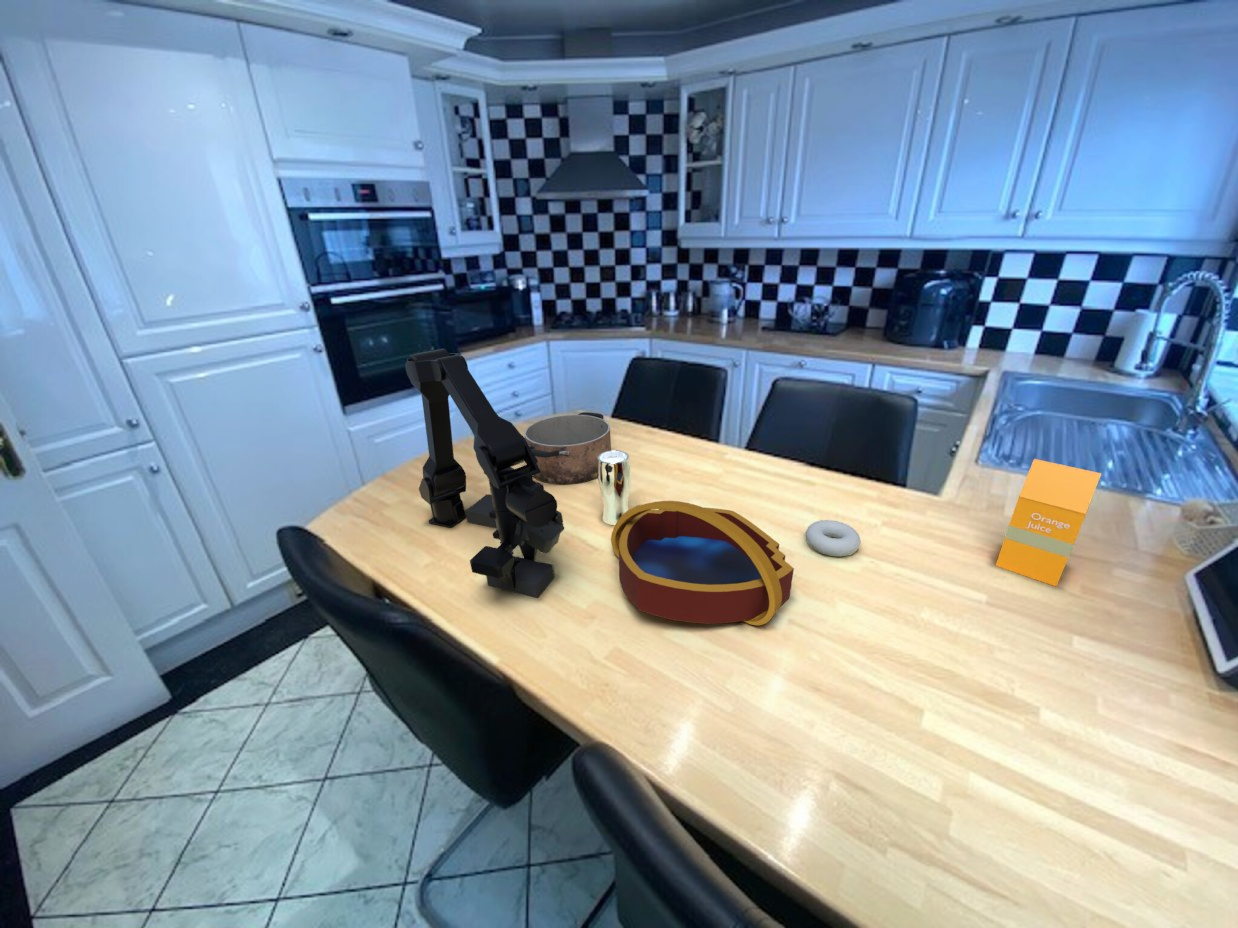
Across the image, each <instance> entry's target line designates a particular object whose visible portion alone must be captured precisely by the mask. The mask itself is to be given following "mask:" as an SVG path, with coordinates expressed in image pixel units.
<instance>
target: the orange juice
mask: <svg viewBox="0 0 1238 928" xmlns="http://www.w3.org/2000/svg"><path fill="white" fill-rule="evenodd" d="M1028 470H1029V471H1028V473H1027V475H1026V477H1025V480H1024V483H1023V486H1022V488H1021V491H1020V493H1019V494H1018V497H1017V500H1016V504H1015V507H1014V510H1013V513H1012V516H1011V519H1010V522H1009V524H1008V526H1007V530H1006V532H1005V535H1004V539H1003V541H1002V545H1001V548H1000V551H999V555H998V557H997V560H996V562H995V567H998V568H1001V569H1004V570H1007V571H1010V572H1012V573H1016V574H1018V575H1021V576H1024V577H1027V578H1030V579H1033V580H1036V581H1039V582H1040V583H1041V582H1042V583H1045V584H1047V585H1050V586H1054V587H1057V586H1058V583H1059V582H1060V579H1061V576H1062V574H1063V572H1064V569H1065V566H1066V565H1067V562H1068V560H1069V558H1070V556H1071V553H1072V550H1073V548H1074V546H1075V543H1076V540H1077V537H1078V535H1079V534H1080V531H1081V528H1082V525H1083V523H1084V521H1085V518H1086V516H1087V513H1088V510H1089V508H1090V504H1091V501H1092V499H1093V496H1094V495H1095V492H1096V489H1097V487H1098V484H1099V482H1100V479H1101V476H1102V473H1101V472H1098V471H1097V472H1096V471H1093V470H1087V469H1083V468H1078V467H1074V466H1069V465H1065V464H1060V463H1056V462H1051V461H1047V460H1042V459H1037V458H1034V459H1033V460H1032V463H1031V465H1030V468H1029V469H1028Z"/></svg>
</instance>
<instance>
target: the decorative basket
mask: <svg viewBox="0 0 1238 928" xmlns="http://www.w3.org/2000/svg"><path fill="white" fill-rule="evenodd" d="M610 543H611V547H612V550H613V552H614V554H615V556H616V557H617V558H618V576H619V583H620V586H621V588H622V590H623V593H624V594H625V596H626V598H628V600H629V602H630V603H631V604H632V605H633V606H634V607H635V608H636V609H637V610H638V611H639V612H640V611H641V612H644V613H647V614H649V615H652V616H656V617H659V618H664V619H668V620H673V621H679V622H686V623H693V624H727V623H736V622H744V623H746V624H749V625H751V626H752V625H753V626H762V625H766V624H768V623H769V622H770V621H771V619H772V618H773V617H774V616H775V615H776V613H777V612H778V611H779V609H780V607H781V606H782V605H784V604H785V603H786V602H787V601H788V600H789V599H790V596H791V590H792V583H793V577H794V571H795V568H794V567H793V566H792V565H791V564H789V563H788V562H787V561H786V554H785V553H784V552H782V551H781V550H780V543H779V542H778V541H776V540H775V539H774V538H773V537H772V536H770V535H769V534H767V533H766V532H765V531H764V530H762V529H761V528H759V527H758V526H757V525H756V524H754V523H753V522H751V521H750V520H748V519H747V518H746V517H744V516H743V515H741V514H739V513H738V512H736V511H734V510H731V509H725V508H724V509H723V508H716V507H715V508H714V507H705V506H701V505H697V504H693V503H690V502H684V501H680V500H679V501H678V500H677V501H676V500H659V501H652V502H648V503H644V504H639V505H636V506H634V507H632V508H629V510H628V511H627V512H625V513H624V514H623V515H622V516H621V517H620V519H619V520H618V521H617V523H616V525H614V527H613V529H612V531H611V537H610Z"/></svg>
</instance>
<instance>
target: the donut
mask: <svg viewBox="0 0 1238 928" xmlns="http://www.w3.org/2000/svg"><path fill="white" fill-rule="evenodd" d="M805 540H806V542H807V544H808V546H810V547H811V548H812V549H814V550H815V551H816V552H818V553H820V554H822V555H826V556H829V557H847V556H850V555H853V554H854V553H856V552H857V551H858V550H859V548H860V545H861V537H860V534H859V533H858V532H857V530H856V529H855V528H853V527H852V526H851V525H849V524H847V523H844V522H842V521H838V520H832V519H823V520H818V521H815V522H813V523H811V524H809V525H808V527H807V528H806V530H805Z"/></svg>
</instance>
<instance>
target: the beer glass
mask: <svg viewBox="0 0 1238 928" xmlns="http://www.w3.org/2000/svg"><path fill="white" fill-rule="evenodd" d="M631 477H632V475H631V461H630V455H629V453H628V452H626V451H624V450H619V449H618V450H617V449H613V450H612V449H611V451H605V452H603V453H601V454H599V455H598V478H597V482H598V486H599V490H600V495H601V498H602V503H603V504H602V505H603V511H602V521H603V523H605V524H607V525H609V526H615V525H616V523H617V521H618V520H619V519H620V517H621V516H622V515H623V514H624V513H625V512H627V511H628V510H630V508H629V494H630V488H631V481H632V478H631Z"/></svg>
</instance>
